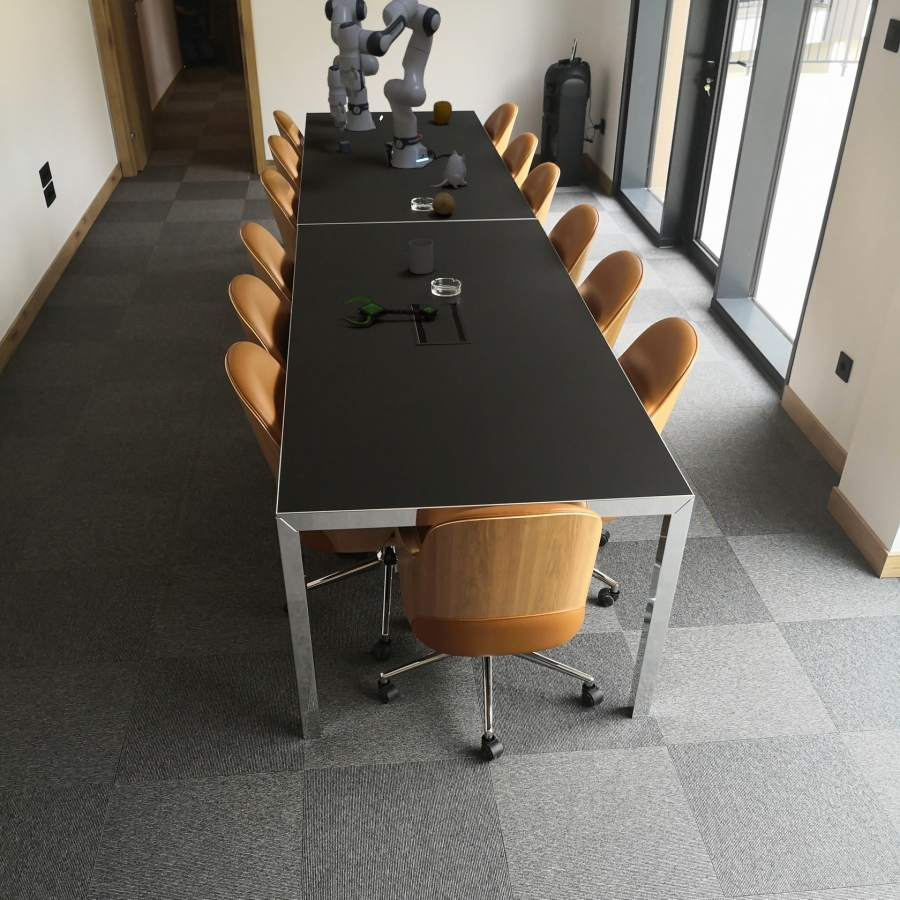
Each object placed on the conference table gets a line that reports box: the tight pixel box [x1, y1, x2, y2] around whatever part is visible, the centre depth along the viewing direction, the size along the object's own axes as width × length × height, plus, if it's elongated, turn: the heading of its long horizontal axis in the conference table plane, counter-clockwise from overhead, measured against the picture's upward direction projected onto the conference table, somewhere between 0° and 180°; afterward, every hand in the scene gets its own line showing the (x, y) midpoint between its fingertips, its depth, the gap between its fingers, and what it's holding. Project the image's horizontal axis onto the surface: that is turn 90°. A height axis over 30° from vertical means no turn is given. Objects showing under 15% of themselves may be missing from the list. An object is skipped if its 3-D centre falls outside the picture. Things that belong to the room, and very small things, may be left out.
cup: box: [408, 237, 434, 275], centre depth 305 cm, size 8×8×10 cm
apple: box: [432, 100, 453, 126], centre depth 501 cm, size 11×11×13 cm
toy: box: [428, 149, 468, 189], centre depth 390 cm, size 9×24×15 cm, turn 137°
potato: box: [431, 192, 456, 216], centre depth 360 cm, size 10×14×8 cm
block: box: [338, 140, 352, 154], centre depth 450 cm, size 5×4×5 cm
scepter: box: [341, 295, 439, 328], centre depth 271 cm, size 6×13×30 cm
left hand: (339, 129), depth 446 cm, fingers open, 8 cm apart
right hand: (351, 99), depth 378 cm, fingers open, 8 cm apart
